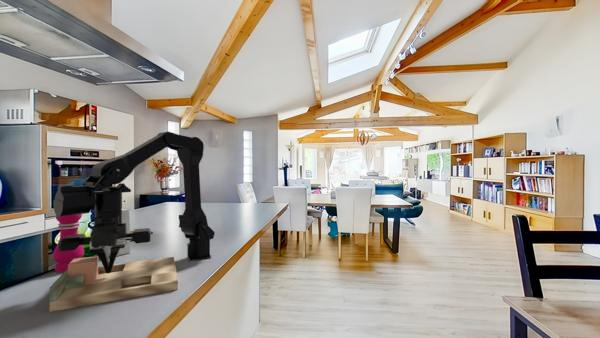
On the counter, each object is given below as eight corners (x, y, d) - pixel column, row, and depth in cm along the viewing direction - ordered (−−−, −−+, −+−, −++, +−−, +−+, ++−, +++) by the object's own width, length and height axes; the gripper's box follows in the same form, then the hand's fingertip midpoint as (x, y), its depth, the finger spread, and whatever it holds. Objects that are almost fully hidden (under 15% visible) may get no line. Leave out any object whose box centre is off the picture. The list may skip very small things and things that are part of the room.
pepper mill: (58, 274, 78) (58, 203, 78) (48, 270, 82) (49, 201, 82) (88, 267, 84) (88, 200, 84) (78, 263, 88) (78, 199, 88)
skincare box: (130, 253, 99) (131, 209, 99) (110, 258, 93) (110, 211, 93) (119, 249, 103) (119, 207, 103) (98, 254, 98) (98, 209, 98)
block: (98, 275, 72) (98, 256, 72) (94, 282, 67) (94, 261, 67) (73, 279, 69) (73, 258, 69) (67, 286, 65) (67, 264, 65)
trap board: (173, 263, 87) (173, 247, 87) (177, 289, 68) (177, 268, 68) (77, 276, 77) (77, 258, 77) (49, 311, 57) (49, 287, 57)
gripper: (49, 218, 59) (49, 292, 59) (149, 212, 68) (149, 276, 68) (65, 212, 69) (65, 275, 69) (150, 207, 78) (150, 263, 78)
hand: (108, 272), depth 71 cm, fingers closed
